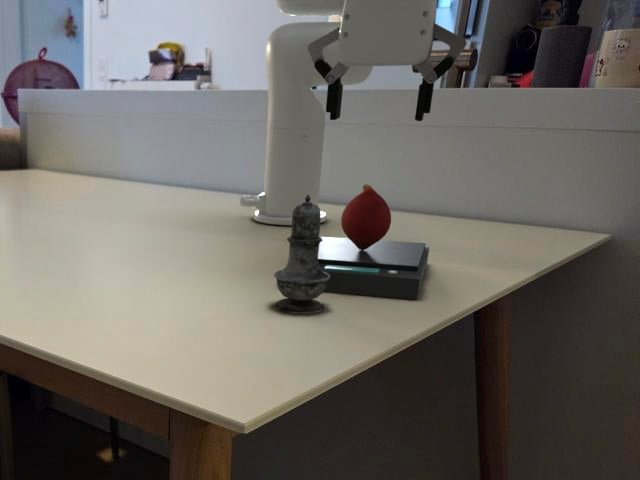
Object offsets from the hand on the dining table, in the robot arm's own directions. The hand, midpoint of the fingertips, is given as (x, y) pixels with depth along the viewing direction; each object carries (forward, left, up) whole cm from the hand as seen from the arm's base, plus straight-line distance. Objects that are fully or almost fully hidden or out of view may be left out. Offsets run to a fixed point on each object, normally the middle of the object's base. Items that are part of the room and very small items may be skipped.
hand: (376, 119), depth 87 cm
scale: (0, -2, -18) cm, 19 cm away
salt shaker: (-4, -19, -19) cm, 27 cm away
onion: (0, -1, -16) cm, 16 cm away
